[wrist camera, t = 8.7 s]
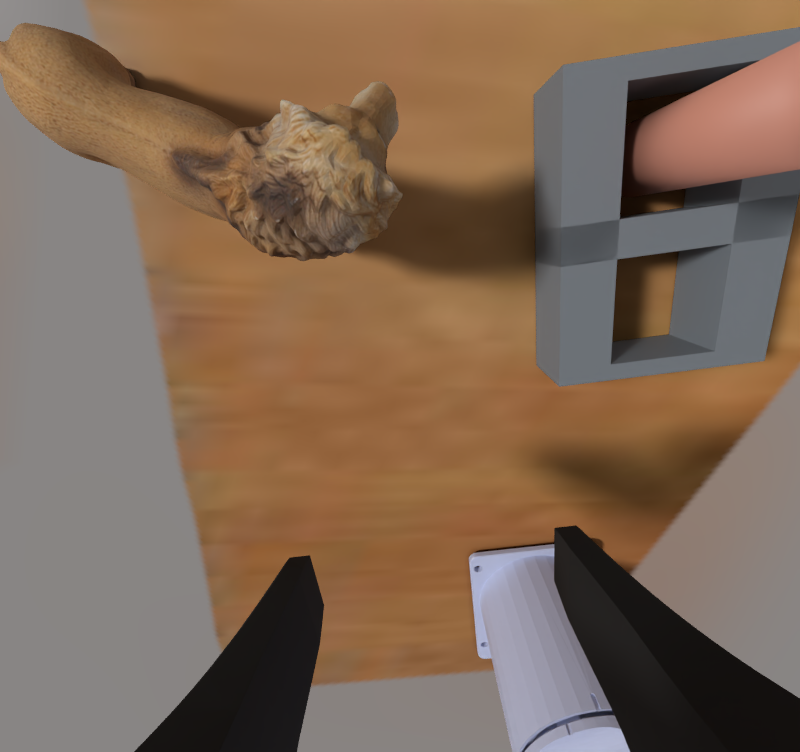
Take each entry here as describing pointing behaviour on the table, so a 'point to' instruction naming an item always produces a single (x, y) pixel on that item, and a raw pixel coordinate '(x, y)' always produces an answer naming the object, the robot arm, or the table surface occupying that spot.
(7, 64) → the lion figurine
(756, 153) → the peg
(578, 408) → the table surface
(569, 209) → the hole block
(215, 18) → the table surface
